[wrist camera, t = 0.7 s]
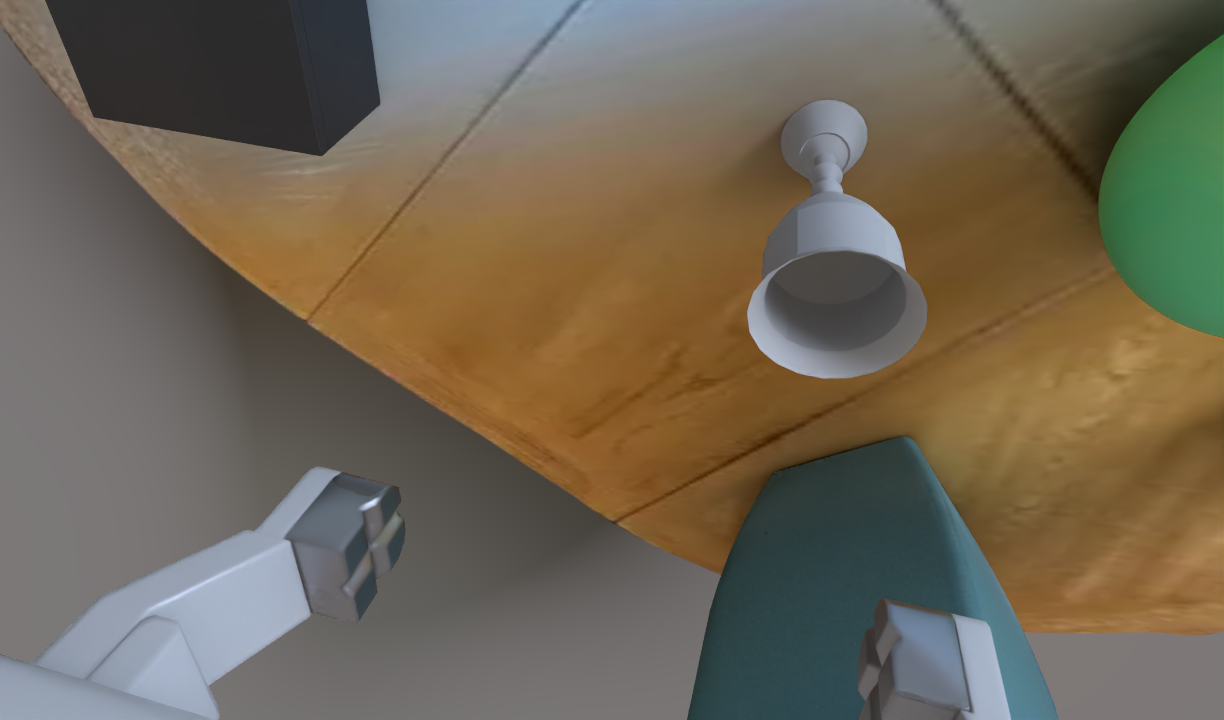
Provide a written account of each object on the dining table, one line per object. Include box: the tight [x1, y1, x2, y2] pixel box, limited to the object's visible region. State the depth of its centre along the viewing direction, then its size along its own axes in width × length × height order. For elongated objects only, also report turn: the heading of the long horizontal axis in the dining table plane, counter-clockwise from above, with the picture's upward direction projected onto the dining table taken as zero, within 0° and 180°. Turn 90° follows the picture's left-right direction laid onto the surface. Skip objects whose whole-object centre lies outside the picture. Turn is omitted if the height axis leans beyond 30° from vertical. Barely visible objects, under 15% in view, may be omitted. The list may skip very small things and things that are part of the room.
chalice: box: [747, 99, 927, 378], centre depth 37 cm, size 7×7×18 cm
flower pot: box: [687, 436, 1059, 720], centre depth 53 cm, size 20×20×28 cm
